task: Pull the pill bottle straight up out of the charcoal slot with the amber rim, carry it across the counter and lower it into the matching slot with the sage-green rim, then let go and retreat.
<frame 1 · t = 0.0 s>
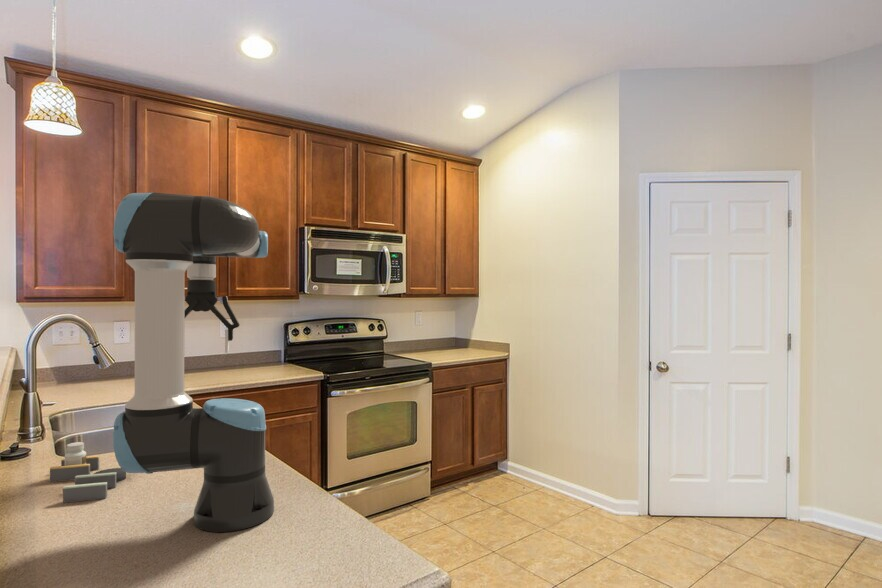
hand: (201, 353, 147), 28 cm above the counter, fingers open, 13 cm apart
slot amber: (75, 474, 127), on the counter
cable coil: (109, 479, 124), on the counter
slot sage: (90, 494, 115), on the counter
pill bottle: (75, 475, 127), on the counter
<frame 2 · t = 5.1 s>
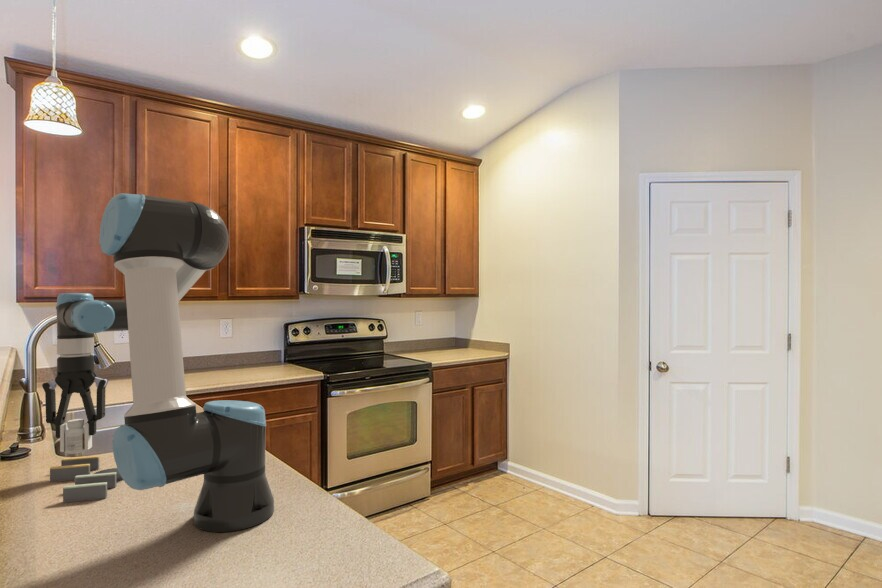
hand: (76, 449, 126), 6 cm above the counter, fingers closed on pill bottle, 4 cm apart
pill bottle: (76, 452, 126), point 6 cm above the counter, touching gripper
when the fingers open (1 cm above the counter, at t = 9.7 s): pill bottle stays where it is, on the counter.
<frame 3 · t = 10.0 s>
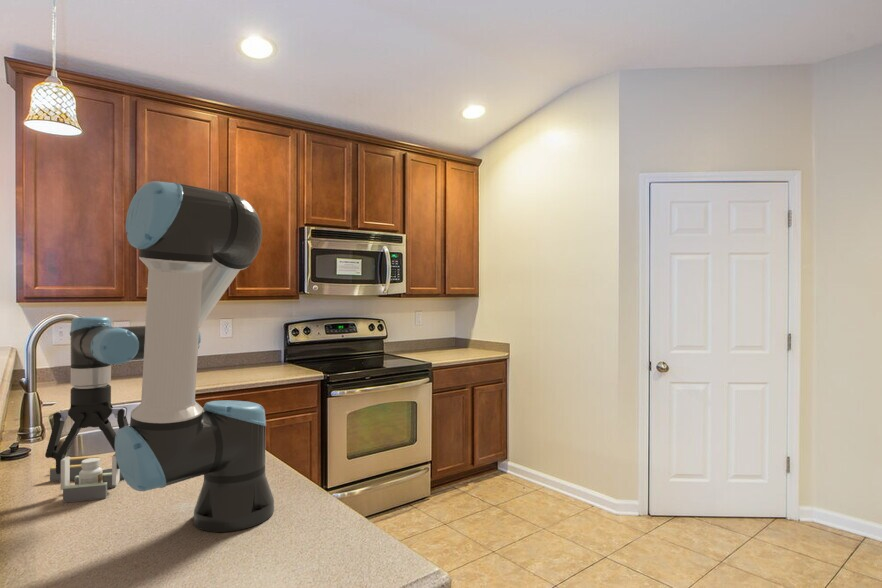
hand: (90, 485, 115), 2 cm above the counter, fingers open, 9 cm apart
pill bottle: (90, 495, 115), on the counter
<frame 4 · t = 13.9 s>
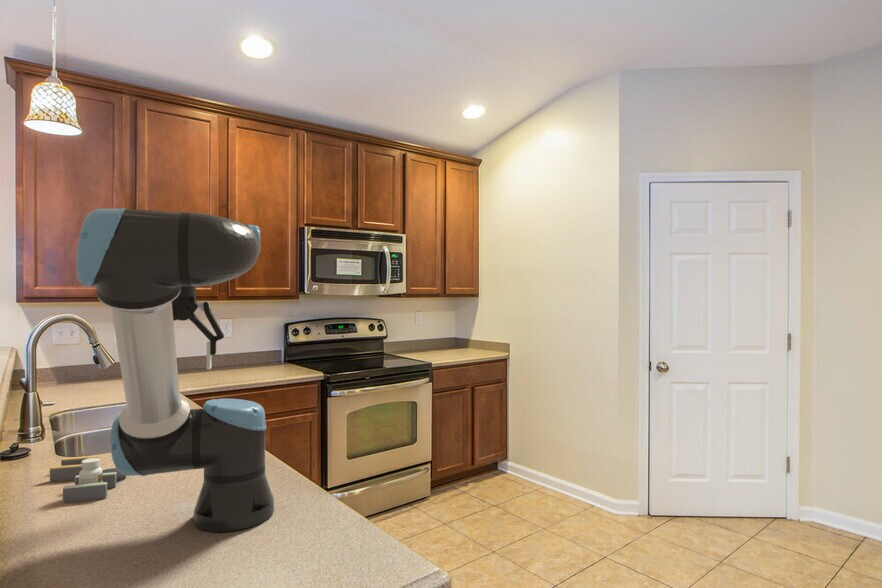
hand: (178, 369, 123), 27 cm above the counter, fingers open, 13 cm apart
nothing on the counter moved.
at the end: pill bottle 0.1 cm from the slot sage (horizontally); pill bottle tilted 0°; pill bottle on the counter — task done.
